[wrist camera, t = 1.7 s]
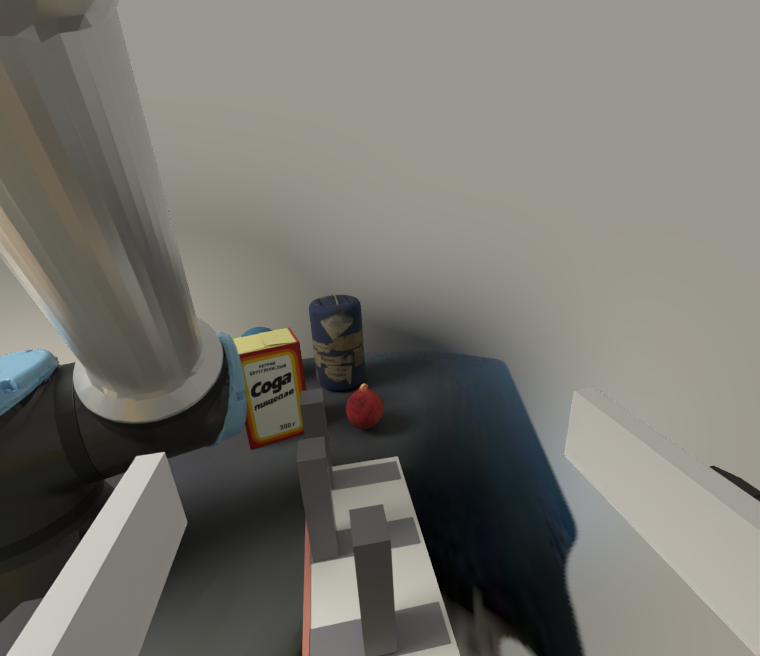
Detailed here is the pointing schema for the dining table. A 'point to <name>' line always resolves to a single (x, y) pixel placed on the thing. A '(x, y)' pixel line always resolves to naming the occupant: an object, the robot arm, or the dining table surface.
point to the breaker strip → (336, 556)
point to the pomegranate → (364, 408)
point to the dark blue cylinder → (338, 341)
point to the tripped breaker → (374, 579)
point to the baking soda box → (272, 385)
